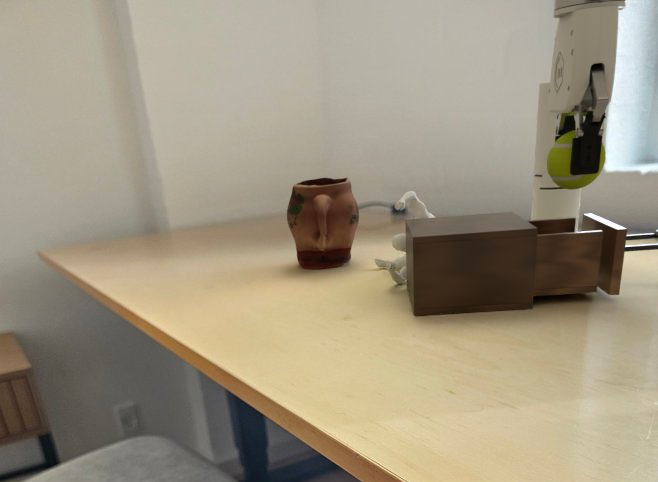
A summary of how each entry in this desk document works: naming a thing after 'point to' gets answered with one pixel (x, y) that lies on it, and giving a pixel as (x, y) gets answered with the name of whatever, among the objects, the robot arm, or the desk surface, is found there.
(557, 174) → the tennis ball
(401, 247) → the person figurine
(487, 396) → the desk surface
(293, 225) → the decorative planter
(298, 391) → the desk surface
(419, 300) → the cabinet
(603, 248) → the drawer
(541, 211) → the cylindrical container
